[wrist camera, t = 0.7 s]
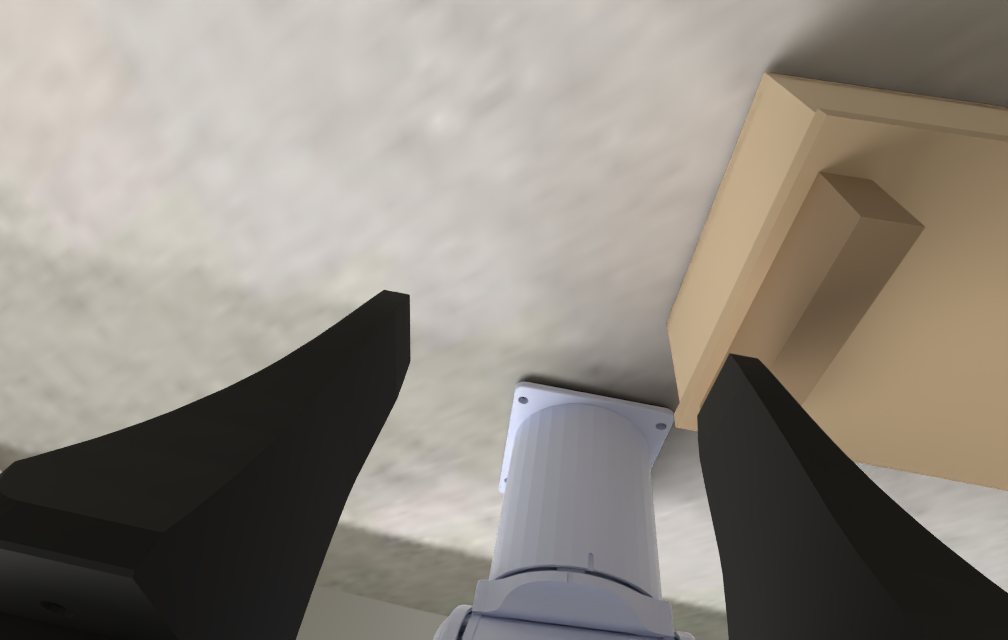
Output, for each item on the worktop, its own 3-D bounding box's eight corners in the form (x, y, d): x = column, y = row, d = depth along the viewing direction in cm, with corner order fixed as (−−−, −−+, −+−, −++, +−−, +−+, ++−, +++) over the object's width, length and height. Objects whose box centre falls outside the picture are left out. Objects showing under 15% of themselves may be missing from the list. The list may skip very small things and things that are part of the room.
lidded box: (666, 322, 22) (680, 407, 18) (764, 72, 15) (819, 115, 11) (1054, 391, 21) (1160, 497, 17) (1323, 152, 14) (1593, 231, 10)
